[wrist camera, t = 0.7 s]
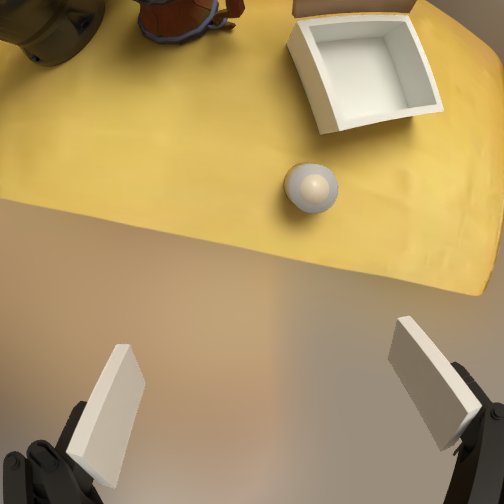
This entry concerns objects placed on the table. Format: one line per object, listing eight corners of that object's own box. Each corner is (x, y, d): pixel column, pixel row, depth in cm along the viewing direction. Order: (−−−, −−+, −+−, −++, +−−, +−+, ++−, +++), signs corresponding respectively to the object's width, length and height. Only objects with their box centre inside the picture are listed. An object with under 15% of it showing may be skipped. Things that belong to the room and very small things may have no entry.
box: (286, 44, 31) (297, 21, 23) (382, 32, 30) (407, 15, 22) (320, 134, 35) (339, 131, 28) (412, 114, 34) (444, 111, 27)
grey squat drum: (278, 170, 37) (283, 172, 32) (319, 157, 36) (331, 158, 32) (291, 211, 39) (298, 220, 34) (331, 198, 38) (343, 205, 34)
